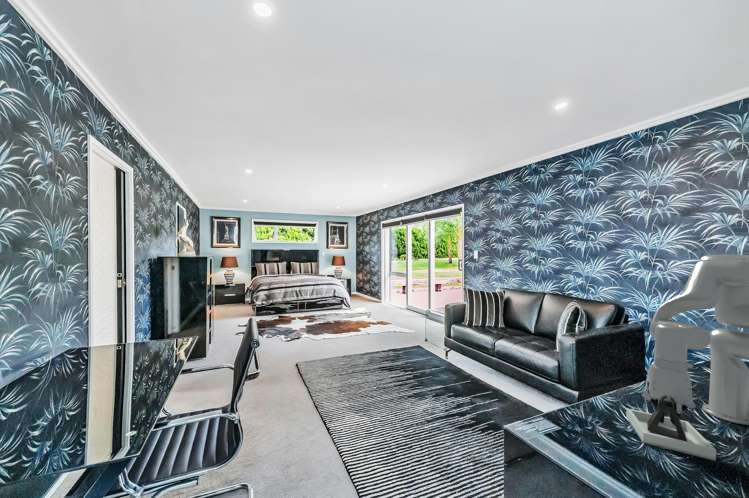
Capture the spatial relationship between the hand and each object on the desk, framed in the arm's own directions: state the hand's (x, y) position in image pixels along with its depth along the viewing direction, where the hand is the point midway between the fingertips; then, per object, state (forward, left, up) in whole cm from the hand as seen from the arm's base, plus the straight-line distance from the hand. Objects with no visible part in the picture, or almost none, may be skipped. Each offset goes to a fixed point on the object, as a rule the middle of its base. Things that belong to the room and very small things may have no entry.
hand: (667, 421), depth 98 cm
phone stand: (0, 0, -4) cm, 4 cm away
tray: (0, 0, -4) cm, 4 cm away
